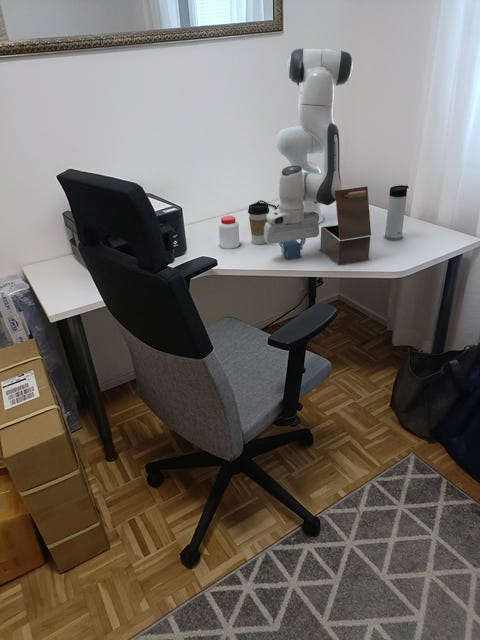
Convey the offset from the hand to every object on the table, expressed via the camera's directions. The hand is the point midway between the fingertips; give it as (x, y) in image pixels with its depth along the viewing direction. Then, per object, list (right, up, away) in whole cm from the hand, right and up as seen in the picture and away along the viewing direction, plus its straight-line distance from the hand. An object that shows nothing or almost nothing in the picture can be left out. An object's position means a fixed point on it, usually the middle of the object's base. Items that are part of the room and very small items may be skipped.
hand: (291, 251), depth 180 cm
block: (0, -2, +1) cm, 2 cm away
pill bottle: (-23, +4, +14) cm, 27 cm away
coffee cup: (-11, +6, +15) cm, 20 cm away
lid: (+19, +11, -13) cm, 26 cm away
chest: (+19, -1, 0) cm, 19 cm away
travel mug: (+41, +7, +12) cm, 43 cm away
